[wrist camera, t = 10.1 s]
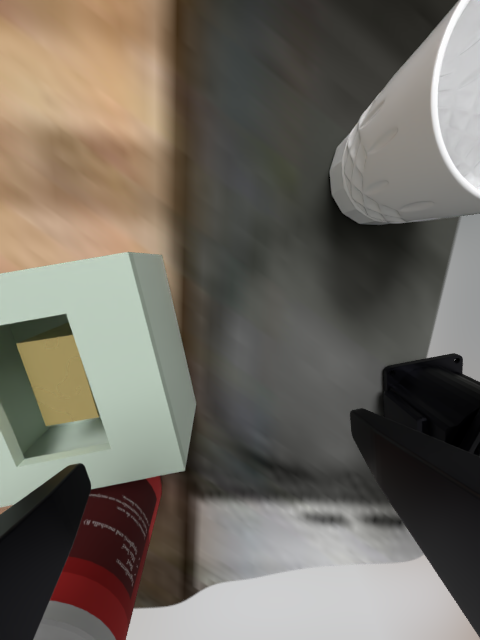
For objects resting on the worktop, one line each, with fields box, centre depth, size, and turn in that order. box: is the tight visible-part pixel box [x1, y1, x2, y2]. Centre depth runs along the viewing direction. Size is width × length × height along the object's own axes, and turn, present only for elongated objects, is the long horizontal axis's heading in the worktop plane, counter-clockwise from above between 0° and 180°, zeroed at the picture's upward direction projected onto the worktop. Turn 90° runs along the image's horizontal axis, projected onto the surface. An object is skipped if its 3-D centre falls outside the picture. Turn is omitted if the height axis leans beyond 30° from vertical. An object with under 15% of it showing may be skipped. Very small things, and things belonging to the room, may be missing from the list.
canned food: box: [33, 476, 162, 640], centre depth 17 cm, size 8×8×11 cm
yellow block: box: [16, 322, 100, 426], centre depth 17 cm, size 3×5×5 cm, turn 8°
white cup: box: [329, 0, 480, 225], centre depth 14 cm, size 8×8×10 cm
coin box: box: [0, 252, 196, 507], centre depth 16 cm, size 12×12×7 cm
